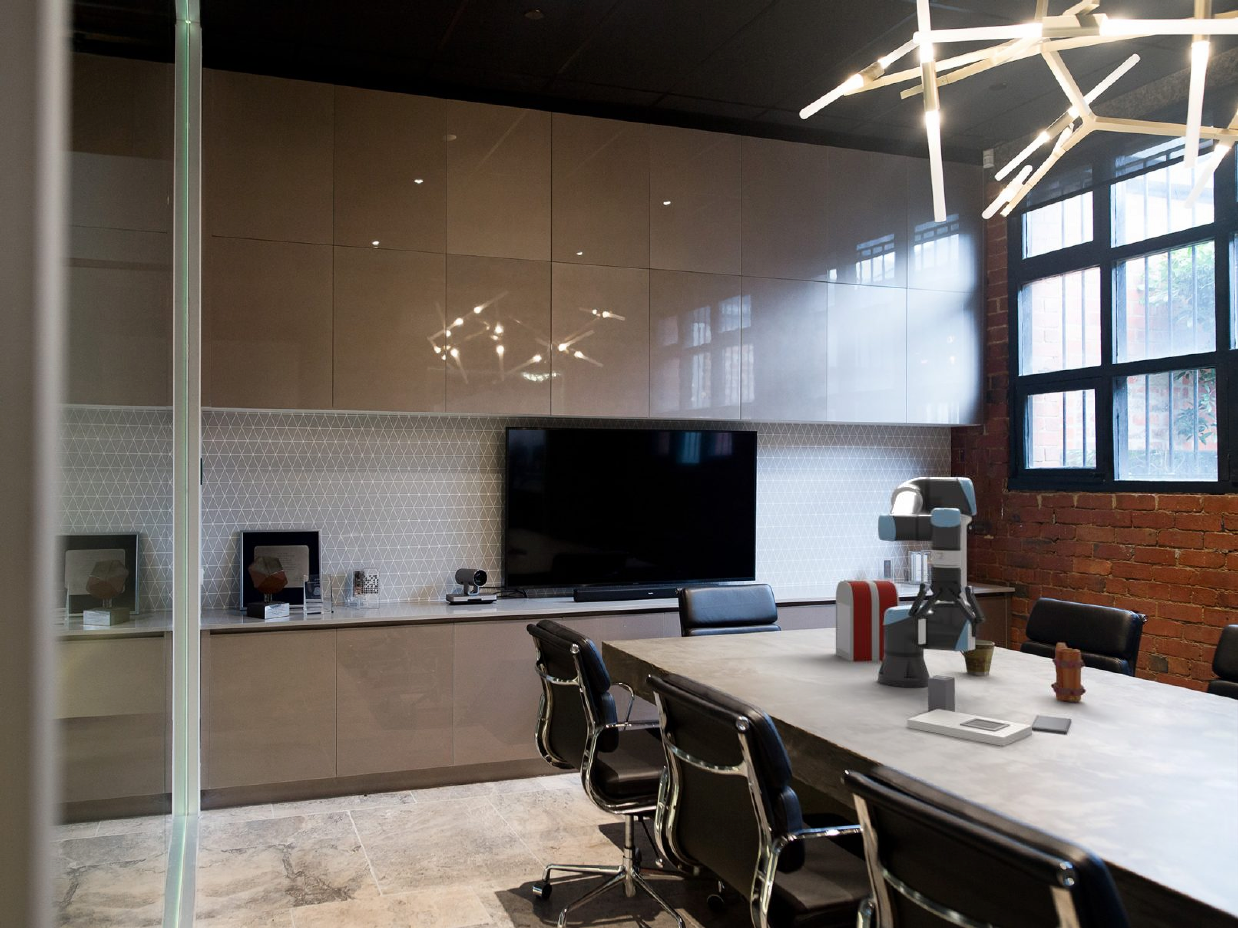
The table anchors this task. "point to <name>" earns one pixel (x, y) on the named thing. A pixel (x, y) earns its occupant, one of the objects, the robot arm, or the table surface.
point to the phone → (1051, 724)
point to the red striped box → (863, 618)
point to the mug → (1068, 674)
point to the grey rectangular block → (941, 693)
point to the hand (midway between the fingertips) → (946, 646)
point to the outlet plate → (970, 727)
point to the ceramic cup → (979, 658)
